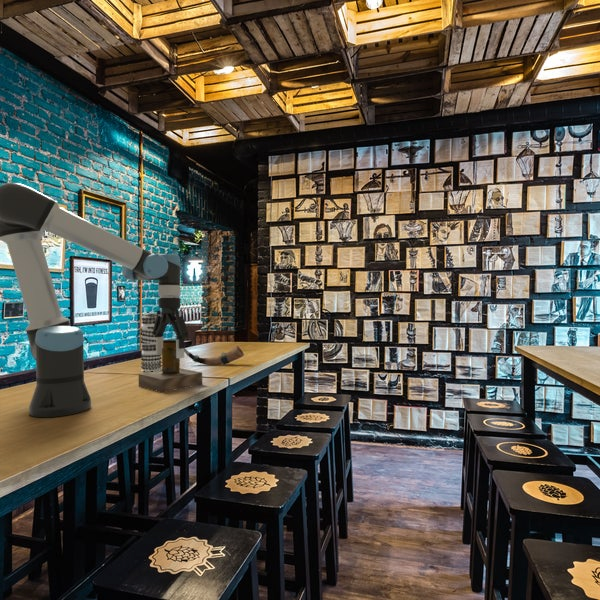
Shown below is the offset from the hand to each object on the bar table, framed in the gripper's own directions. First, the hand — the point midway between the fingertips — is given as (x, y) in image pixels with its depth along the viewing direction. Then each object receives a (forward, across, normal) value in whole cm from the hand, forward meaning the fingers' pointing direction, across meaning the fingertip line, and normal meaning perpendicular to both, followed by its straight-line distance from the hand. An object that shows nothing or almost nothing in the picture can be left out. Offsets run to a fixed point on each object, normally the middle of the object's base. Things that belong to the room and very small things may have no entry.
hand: (169, 356), depth 149 cm
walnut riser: (+11, 0, 0) cm, 11 cm away
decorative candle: (+11, +36, -12) cm, 39 cm away
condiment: (+6, -1, 0) cm, 6 cm away
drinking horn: (+10, +26, -37) cm, 47 cm away
